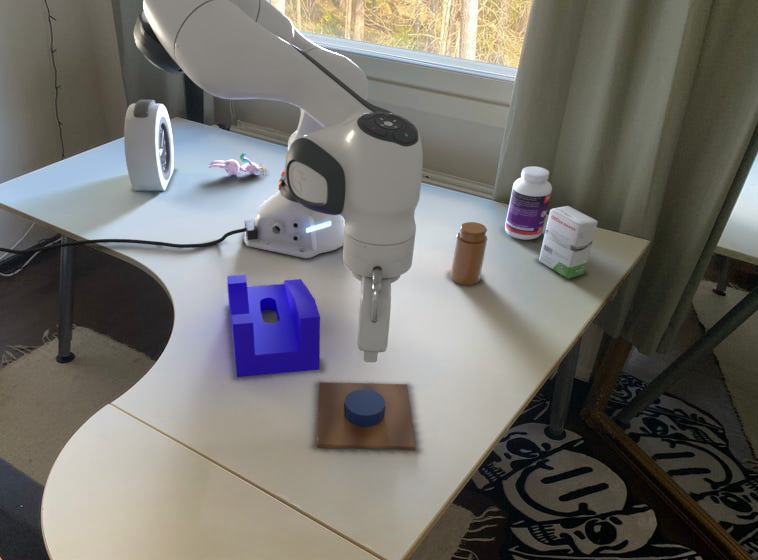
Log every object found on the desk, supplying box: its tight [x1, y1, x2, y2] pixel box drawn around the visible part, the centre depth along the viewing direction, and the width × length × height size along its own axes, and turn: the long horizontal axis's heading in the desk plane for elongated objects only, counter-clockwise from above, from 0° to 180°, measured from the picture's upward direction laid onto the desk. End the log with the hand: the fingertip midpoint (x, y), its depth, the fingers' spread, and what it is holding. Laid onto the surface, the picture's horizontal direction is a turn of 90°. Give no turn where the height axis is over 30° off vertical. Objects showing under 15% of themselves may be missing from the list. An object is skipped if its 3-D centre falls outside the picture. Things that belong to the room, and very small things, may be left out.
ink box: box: [538, 205, 599, 280], centre depth 133 cm, size 9×5×12 cm, turn 26°
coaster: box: [316, 381, 416, 451], centre depth 101 cm, size 14×14×1 cm
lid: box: [344, 389, 385, 427], centre depth 100 cm, size 6×6×2 cm
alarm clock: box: [123, 99, 175, 192], centre depth 167 cm, size 21×8×20 cm, turn 179°
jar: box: [450, 221, 488, 286], centre depth 130 cm, size 6×6×11 cm
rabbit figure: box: [207, 153, 267, 176], centre depth 174 cm, size 6×6×15 cm
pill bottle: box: [504, 166, 553, 241], centre depth 144 cm, size 8×8×14 cm
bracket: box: [226, 274, 321, 378], centre depth 114 cm, size 21×14×10 cm, turn 9°
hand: (371, 338), depth 92 cm, fingers open, 8 cm apart
